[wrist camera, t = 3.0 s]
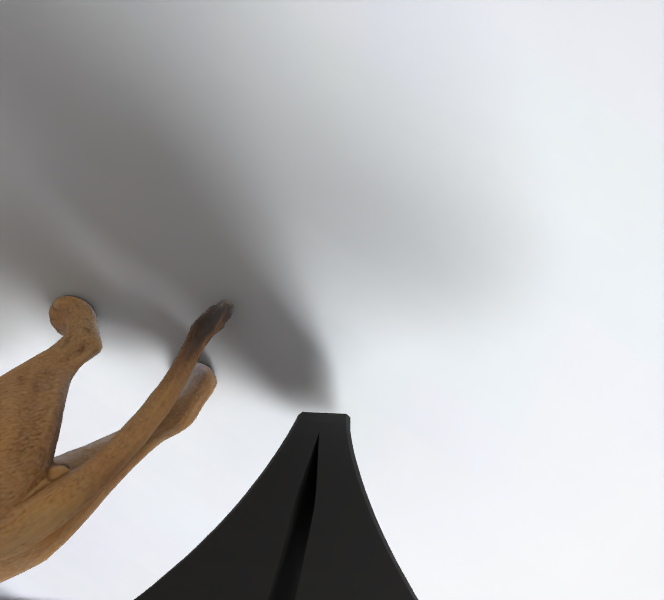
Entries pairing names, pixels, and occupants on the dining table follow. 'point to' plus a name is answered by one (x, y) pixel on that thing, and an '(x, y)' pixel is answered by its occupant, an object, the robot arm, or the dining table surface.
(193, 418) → the lion figurine
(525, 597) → the dining table surface
